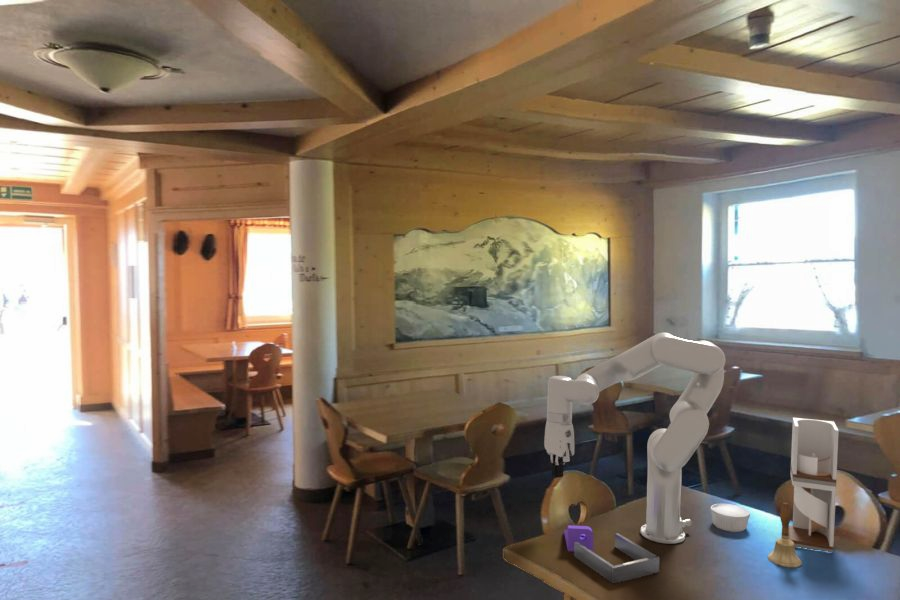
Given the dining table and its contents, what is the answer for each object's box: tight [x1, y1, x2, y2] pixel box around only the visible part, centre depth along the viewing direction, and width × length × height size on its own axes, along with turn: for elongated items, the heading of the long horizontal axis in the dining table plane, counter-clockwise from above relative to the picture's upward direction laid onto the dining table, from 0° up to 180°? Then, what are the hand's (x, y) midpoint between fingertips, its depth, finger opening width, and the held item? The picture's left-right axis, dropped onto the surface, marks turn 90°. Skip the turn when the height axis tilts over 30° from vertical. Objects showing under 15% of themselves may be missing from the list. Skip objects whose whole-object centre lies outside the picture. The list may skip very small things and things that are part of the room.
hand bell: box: [767, 501, 803, 568], centre depth 175 cm, size 8×8×16 cm
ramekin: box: [710, 503, 751, 533], centre depth 199 cm, size 11×11×5 cm
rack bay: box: [573, 532, 660, 584], centre depth 172 cm, size 15×16×4 cm
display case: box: [788, 417, 840, 553], centre depth 186 cm, size 11×11×35 cm
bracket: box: [563, 524, 594, 552], centre depth 186 cm, size 12×7×7 cm, turn 175°
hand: (557, 476), depth 196 cm, fingers closed
